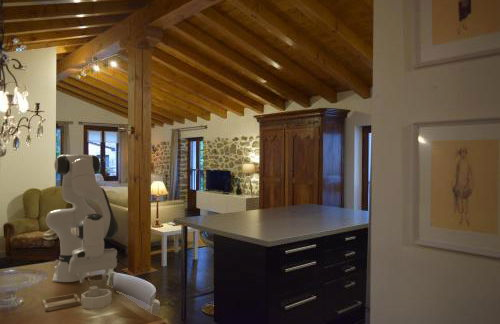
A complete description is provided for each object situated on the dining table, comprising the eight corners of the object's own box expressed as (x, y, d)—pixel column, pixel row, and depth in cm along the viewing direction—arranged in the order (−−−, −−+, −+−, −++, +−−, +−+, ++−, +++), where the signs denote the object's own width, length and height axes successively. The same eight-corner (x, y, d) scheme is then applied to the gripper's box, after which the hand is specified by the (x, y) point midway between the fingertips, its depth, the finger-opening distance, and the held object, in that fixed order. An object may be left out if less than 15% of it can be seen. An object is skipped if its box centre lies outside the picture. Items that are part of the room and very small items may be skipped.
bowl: (79, 303, 169) (79, 292, 169) (106, 298, 176) (106, 287, 176) (85, 312, 159) (85, 300, 159) (113, 306, 166) (113, 294, 166)
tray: (42, 304, 168) (42, 299, 168) (75, 297, 176) (75, 293, 176) (45, 312, 158) (45, 307, 158) (80, 305, 166) (80, 300, 166)
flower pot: (101, 299, 175) (101, 280, 175) (83, 297, 177) (83, 279, 177) (112, 292, 184) (112, 274, 184) (95, 290, 186) (95, 273, 186)
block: (89, 294, 168) (89, 287, 168) (96, 293, 170) (96, 285, 170) (91, 297, 165) (91, 289, 165) (98, 295, 167) (98, 288, 167)
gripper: (115, 246, 177) (114, 274, 177) (68, 251, 165) (67, 282, 165) (119, 248, 172) (118, 278, 172) (70, 255, 160) (70, 286, 160)
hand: (93, 280), depth 168 cm, fingers open, 8 cm apart
